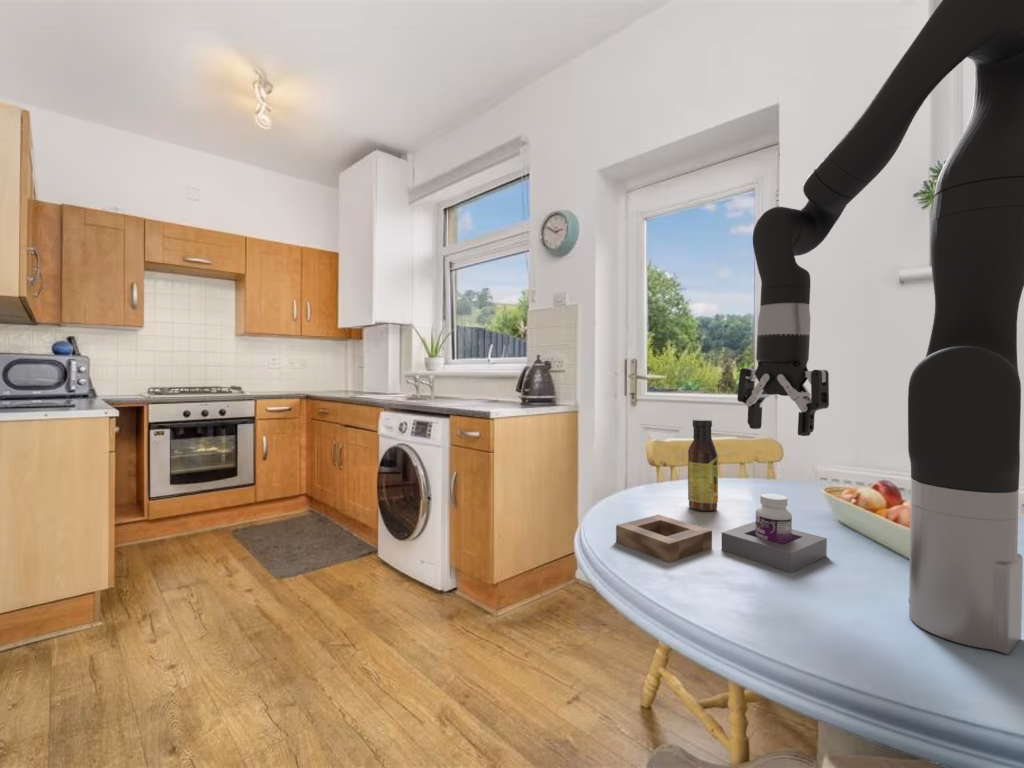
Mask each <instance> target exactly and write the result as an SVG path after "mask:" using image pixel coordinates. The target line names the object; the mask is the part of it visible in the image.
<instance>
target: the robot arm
mask: <svg viewBox="0 0 1024 768" xmlns="http://www.w3.org/2000/svg"><path fill="white" fill-rule="evenodd" d="M966 58H968V59H971V60H972V63H973V67H974V69H973V70H974V86H973V99H972V107H971V112H970V116H969V119H968V121H967V124H966V126H965V128H964V131H963V132H962V134H961V135H960V138H959V139H958V141H957V142H956V144H955V146H954V147H953V149H952V151H951V152H950V154H949V155H948V157H947V159H946V160H945V162H944V164H943V167H942V168H941V170H940V173H939V175H938V178H937V181H936V184H935V188H934V189H935V190H934V195H933V197H934V198H933V204H932V213H931V222H930V224H931V225H930V262H931V263H930V264H931V274H932V282H933V290H934V291H933V292H934V314H933V315H934V316H933V324H932V328H931V333H930V338H929V342H928V347H927V352H926V355H925V357H924V358H923V359H922V360H921V361H920V362H919V363H918V364H917V365H916V366H915V368H914V369H913V371H912V373H911V375H910V377H909V383H908V392H907V438H908V439H907V444H908V447H907V450H908V457H909V462H910V503H909V504H910V507H909V508H910V509H909V511H910V513H909V575H908V576H909V577H908V578H909V579H908V581H909V583H908V591H909V592H908V594H909V595H908V604H909V606H908V617H909V618H910V620H911V621H912V622H913V623H914V624H915V625H917V626H918V627H919V628H921V629H923V630H924V631H926V632H929V633H931V634H933V635H935V636H937V637H940V638H942V639H946V640H949V641H952V642H954V643H958V644H960V645H964V646H965V645H966V646H969V647H973V648H980V649H987V650H992V651H995V652H999V653H1002V654H1005V655H1008V654H1010V653H1011V651H1012V650H1013V649H1014V647H1015V646H1016V645H1017V644H1018V642H1019V641H1020V639H1022V617H1023V615H1022V611H1023V610H1022V609H1023V607H1022V606H1023V567H1024V566H1023V560H1024V558H1023V555H1022V554H1021V553H1018V541H1019V539H1018V538H1019V535H1018V534H1019V493H1020V491H1019V488H1020V471H1021V470H1020V467H1021V463H1020V461H1021V450H1020V449H1021V447H1020V444H1021V414H1022V413H1021V409H1022V405H1021V404H1022V387H1021V386H1022V385H1021V379H1020V375H1019V368H1018V366H1019V365H1018V345H1017V344H1018V343H1017V342H1018V340H1017V339H1018V314H1019V313H1018V312H1019V307H1020V306H1019V305H1020V301H1021V297H1022V292H1023V290H1024V0H941V2H940V3H938V6H937V7H936V8H935V10H934V11H933V13H932V14H931V15H930V17H929V18H928V20H927V21H926V23H925V24H924V26H923V27H922V28H921V30H920V31H919V32H918V34H917V36H916V37H915V39H914V40H913V41H912V43H911V44H910V46H909V47H908V48H907V50H906V51H905V53H904V54H903V56H901V58H900V60H899V61H898V63H897V64H896V65H895V67H894V68H893V70H892V71H891V73H890V74H889V76H888V77H887V79H886V80H885V81H884V83H883V85H882V86H881V87H880V89H879V90H878V92H877V93H876V94H875V95H874V98H873V99H872V100H871V102H870V103H869V104H868V106H866V108H865V109H864V111H863V112H862V113H861V115H860V116H859V118H858V119H857V120H856V121H855V123H854V124H853V125H852V126H851V128H850V129H849V130H848V131H847V132H846V134H845V135H844V136H843V137H842V138H841V139H840V141H838V143H837V144H836V145H835V146H834V147H832V149H831V151H829V153H828V154H827V155H826V156H825V157H824V158H823V160H822V161H820V163H819V164H818V165H817V166H816V167H815V168H814V169H813V171H812V172H811V173H810V174H809V175H808V176H807V178H806V179H805V181H804V183H803V185H802V192H803V194H804V196H805V197H806V199H808V200H807V201H806V203H805V205H804V206H803V207H802V208H800V209H796V208H791V207H785V206H774V207H770V208H768V209H766V210H765V211H764V212H763V213H762V214H761V215H760V216H759V218H758V219H757V220H756V223H755V225H754V227H753V231H752V247H753V252H754V256H755V262H756V265H757V270H758V274H759V278H760V282H761V287H760V302H759V303H760V305H759V312H758V317H757V318H758V319H757V332H756V333H757V335H756V336H757V337H756V357H755V358H756V361H757V368H756V369H755V368H751V367H744V368H743V367H741V369H740V370H739V377H738V378H739V379H738V388H737V402H739V403H743V404H745V405H746V406H747V424H748V425H749V429H752V430H759V429H761V428H762V424H763V421H762V419H763V417H762V416H763V406H762V404H763V403H764V402H765V400H766V399H768V398H769V397H770V396H773V395H774V396H775V395H776V396H778V395H779V396H783V397H785V396H786V397H787V396H788V397H789V398H790V400H791V401H794V403H795V404H796V406H797V408H798V409H799V410H800V411H799V412H798V419H797V420H798V421H797V435H798V436H802V437H808V436H810V435H811V433H813V432H814V431H815V430H814V429H815V414H816V412H817V411H819V410H824V409H828V408H829V405H830V396H829V395H830V386H829V385H830V383H829V380H830V379H829V378H830V377H829V376H830V375H829V371H828V370H827V369H813V370H809V369H808V366H807V365H808V362H809V357H810V356H809V355H810V340H811V339H810V336H811V335H810V334H811V312H810V304H811V303H810V302H811V301H810V300H811V274H810V272H809V271H808V270H807V269H805V268H803V267H802V266H800V265H799V264H798V263H797V261H796V258H795V257H796V256H803V255H806V254H808V253H810V252H811V251H813V250H815V249H816V248H817V247H818V246H820V245H821V244H822V242H823V241H824V240H825V239H826V238H827V237H828V234H829V233H830V232H831V230H832V229H833V227H834V226H835V224H836V223H837V222H838V220H839V219H840V218H841V216H842V214H843V212H844V210H845V208H846V207H847V206H848V204H849V203H851V201H853V199H855V198H856V197H857V196H858V195H859V194H860V193H861V192H862V191H863V190H864V189H865V188H866V187H867V186H868V185H869V184H870V183H871V182H872V181H873V180H874V179H875V178H876V177H877V176H878V175H879V174H880V173H881V172H882V171H883V170H884V168H885V167H886V166H887V165H888V164H889V162H890V161H891V159H892V158H893V157H894V156H895V154H896V152H897V151H898V149H899V147H900V145H901V143H902V142H903V140H904V137H905V136H906V134H907V131H908V130H909V128H910V125H911V123H912V122H913V120H914V118H915V116H916V114H917V113H918V111H919V110H920V108H921V107H922V106H923V104H924V102H925V101H926V100H927V98H928V97H929V96H930V95H931V93H932V92H933V90H934V89H936V87H937V86H938V85H939V84H940V82H942V81H943V80H944V79H945V78H946V77H947V75H948V74H950V73H951V72H952V71H954V69H955V68H956V67H958V65H960V64H961V63H962V62H963V61H964V60H965V59H966ZM756 379H757V381H758V383H757V384H756V386H755V381H756ZM806 381H808V382H809V383H810V389H811V390H810V392H809V390H808V388H807V387H806V385H805V383H806Z"/></svg>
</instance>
